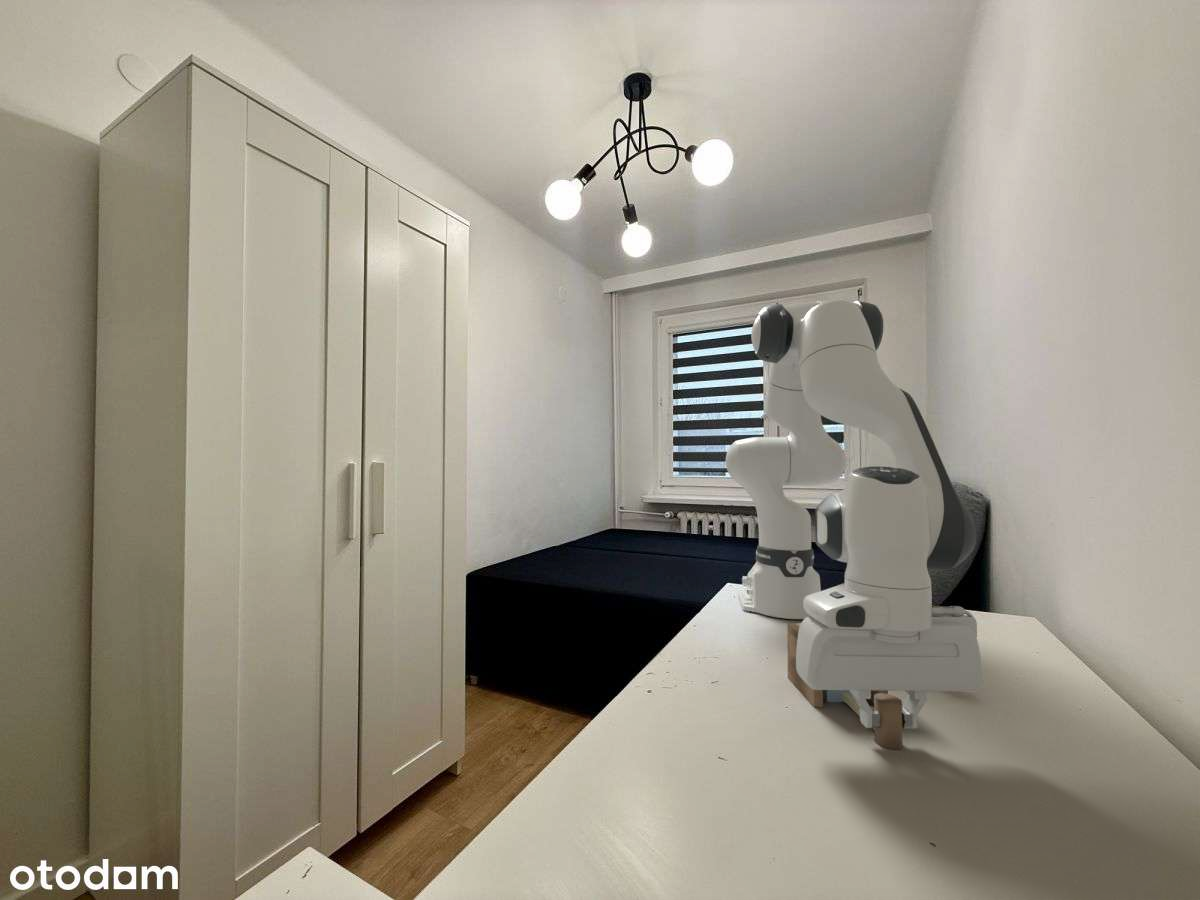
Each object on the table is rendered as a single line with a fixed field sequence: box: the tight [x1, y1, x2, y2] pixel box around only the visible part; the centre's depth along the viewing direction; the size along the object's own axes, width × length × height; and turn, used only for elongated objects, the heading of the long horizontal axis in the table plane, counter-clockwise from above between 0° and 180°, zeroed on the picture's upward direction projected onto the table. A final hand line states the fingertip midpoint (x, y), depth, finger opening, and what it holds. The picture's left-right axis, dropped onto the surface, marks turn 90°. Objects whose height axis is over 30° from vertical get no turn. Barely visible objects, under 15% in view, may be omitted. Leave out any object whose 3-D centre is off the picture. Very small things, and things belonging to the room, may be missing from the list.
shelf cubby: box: [786, 622, 889, 708], centre depth 71 cm, size 9×10×8 cm
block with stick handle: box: [823, 690, 903, 750], centre depth 64 cm, size 16×5×5 cm, turn 0°
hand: (887, 725), depth 57 cm, fingers closed on block with stick handle, 3 cm apart
